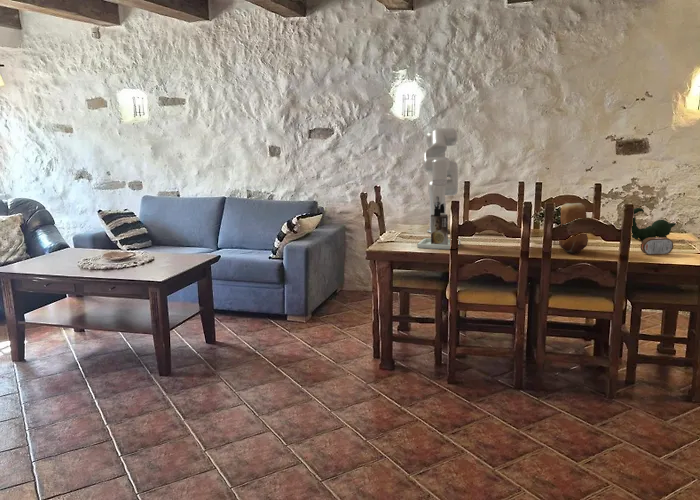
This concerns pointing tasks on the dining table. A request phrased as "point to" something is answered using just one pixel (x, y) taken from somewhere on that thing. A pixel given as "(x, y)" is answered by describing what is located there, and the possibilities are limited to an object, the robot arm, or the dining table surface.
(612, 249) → the dining table surface
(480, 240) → the dining table surface
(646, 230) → the toy figurine
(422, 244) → the tray
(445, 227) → the coffee box
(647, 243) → the tin
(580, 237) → the butternut squash
